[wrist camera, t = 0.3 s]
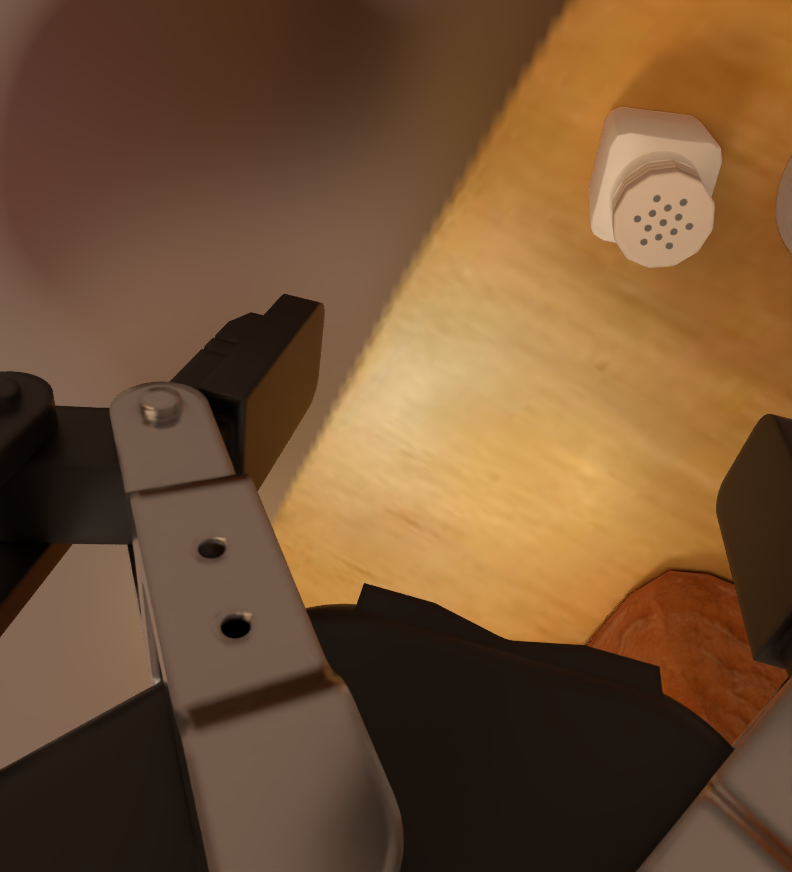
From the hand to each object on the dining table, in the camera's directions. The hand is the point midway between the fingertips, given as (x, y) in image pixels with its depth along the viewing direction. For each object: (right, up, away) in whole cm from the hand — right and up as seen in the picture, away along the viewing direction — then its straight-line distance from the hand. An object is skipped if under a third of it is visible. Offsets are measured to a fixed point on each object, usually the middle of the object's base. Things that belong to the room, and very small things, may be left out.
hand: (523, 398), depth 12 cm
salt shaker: (+9, +12, +18) cm, 23 cm away
